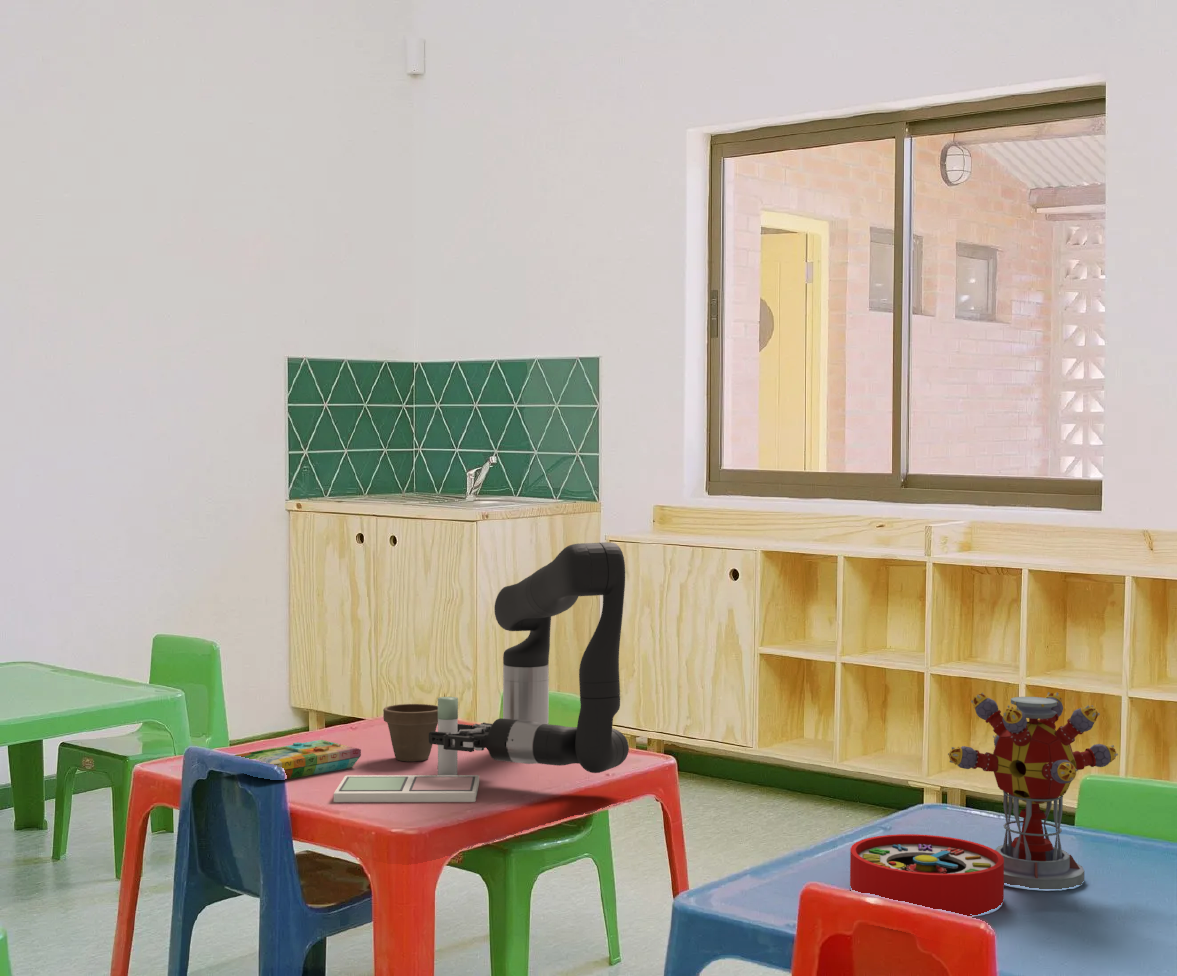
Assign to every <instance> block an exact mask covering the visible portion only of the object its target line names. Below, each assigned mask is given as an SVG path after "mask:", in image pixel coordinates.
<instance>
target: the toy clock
mask: <svg viewBox="0 0 1177 976" xmlns="http://www.w3.org/2000/svg"><path fill="white" fill-rule="evenodd" d="M995 850H996V849H994V848H992V847H989V846H987V845H984V844H981V843H977V842H975V841H970V840H965V839H961V838H954V837H950V836H943V835H942V836H941V835H930V834H918V833H917V834H915V833H911V834H909V833H907V834H906V833H904V834H903V833H901V834H886V835H879V836H878V835H877V836H873V837H872V836H871V837H868V838H864V839H861V840H858V841H856V842H855V843H853V844H852V845H851V847H850V849H849V851H850V852H849V854H850V858H849V860H850V861H849V863H850V864H849V868H850V869H849V887H850V886H851V888H852V890H855V891H858V892H861V893H870V894H875V895H879V896H881V897H885V898H889V899H893V900H898V901H905V902H909V903H913V904H917V905H922V906H925V907H930V908H933V909H942V910H946V911H951V912H955V913H959V914H963V915H967V916H972V915H978V914H981V913H984V912H987V911H989V910H991V909H995V908H997V907H998V906H999V905H1001V903H1002V902H1003V899H1004V895H1005V892H1004V891H1005V888H1004V887H1005V886H1004V858H1003V856H1002V855H1001V854H1000V853H999V852H997V851H995ZM1003 903H1004V902H1003ZM970 914H972V915H970Z"/></svg>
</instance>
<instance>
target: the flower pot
mask: <svg viewBox="0 0 1177 976" xmlns="http://www.w3.org/2000/svg"><path fill="white" fill-rule="evenodd" d="M382 715H383V718H382V719H383V721H384V722H385V723H387V727H388V731H389V736H390V741H391V745H392V751H393V753H394V757H395V759H396V761H397V760H398V761H400V762H410V763H412V762H423V761H426V760H428V759H429V758H430V754H431V751H432V748H433V744H430V743H429V733H430V732H432V731H436V730H437V728H438V705H434V704H428V703H427V704H425V703H404V704H402V703H401V704H392V705H389V706H385V707H384V708H383V714H382ZM436 732H437V731H436Z"/></svg>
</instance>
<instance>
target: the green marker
mask: <svg viewBox="0 0 1177 976" xmlns="http://www.w3.org/2000/svg"><path fill="white" fill-rule="evenodd" d="M437 706H438V724H437V732H445V733H448V732H451V733H457V732H458V724H459V723H458V721H459V720H458V718H459V698H458V697H457V696H441V697H438V698H437ZM453 743H455V740H454V739H453ZM437 775H458V751H457V750H446V749H444V745H437Z"/></svg>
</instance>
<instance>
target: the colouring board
mask: <svg viewBox="0 0 1177 976" xmlns="http://www.w3.org/2000/svg"><path fill="white" fill-rule="evenodd" d="M479 785H480V774H479V775H478V774H469V775H467V774H465V775H464V774H463V775H461V774H457V775H438V774H437V775H436V774H433V775H432V774H429V775H427V774H426V775H424V774H422V775H420V774H417V775H413V774H412V775H410V774H409V775H408V774H407V775H406V774H405V775H401V774H400V775H399V774H398V775H395V774H391V775H389V774H387V775H378V774H377V775H372V774H371V775H369V774H368V775H363V774H362V775H359V774H358V775H349V774H347V775H346V774H345V775H344V777H343V778H342V780H341V781H340V783H339V785H338V786H337V788H336V789H335V791H334V792H333V803H476V800H477V795H478V790H479V787H480V786H479Z"/></svg>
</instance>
